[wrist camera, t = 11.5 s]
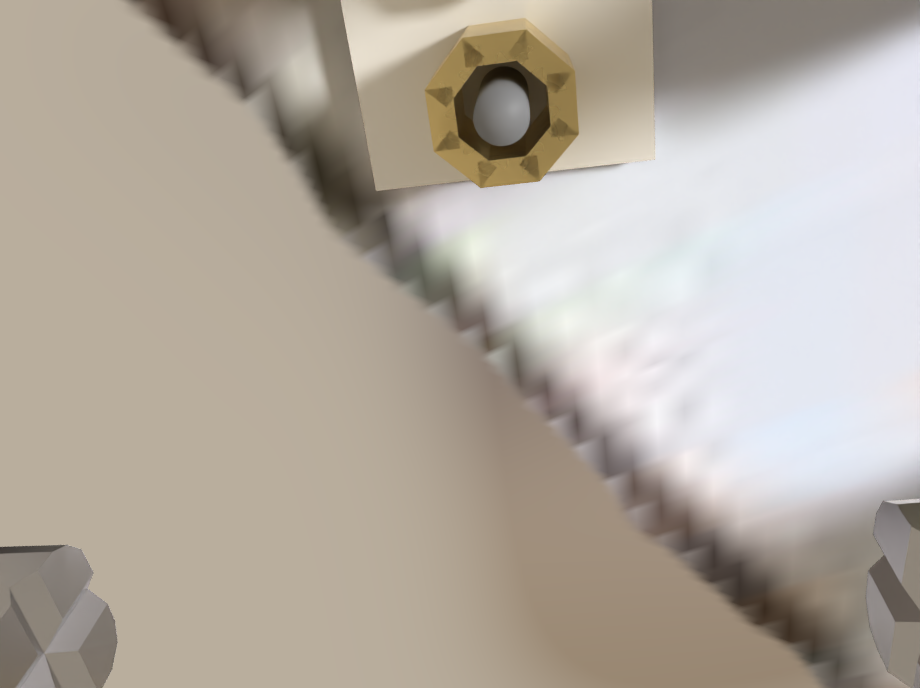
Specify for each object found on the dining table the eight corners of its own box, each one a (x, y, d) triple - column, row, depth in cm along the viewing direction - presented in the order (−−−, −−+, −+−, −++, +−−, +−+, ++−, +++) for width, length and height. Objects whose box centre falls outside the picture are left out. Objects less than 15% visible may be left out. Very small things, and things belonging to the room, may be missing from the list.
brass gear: (565, 12, 30) (572, 22, 27) (574, 150, 33) (581, 176, 29) (429, 30, 31) (417, 43, 28) (448, 164, 34) (439, 192, 30)
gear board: (651, 152, 34) (676, 195, 29) (380, 183, 35) (355, 229, 30) (642, -243, 28) (672, -286, 22) (312, -186, 29) (264, -212, 24)
